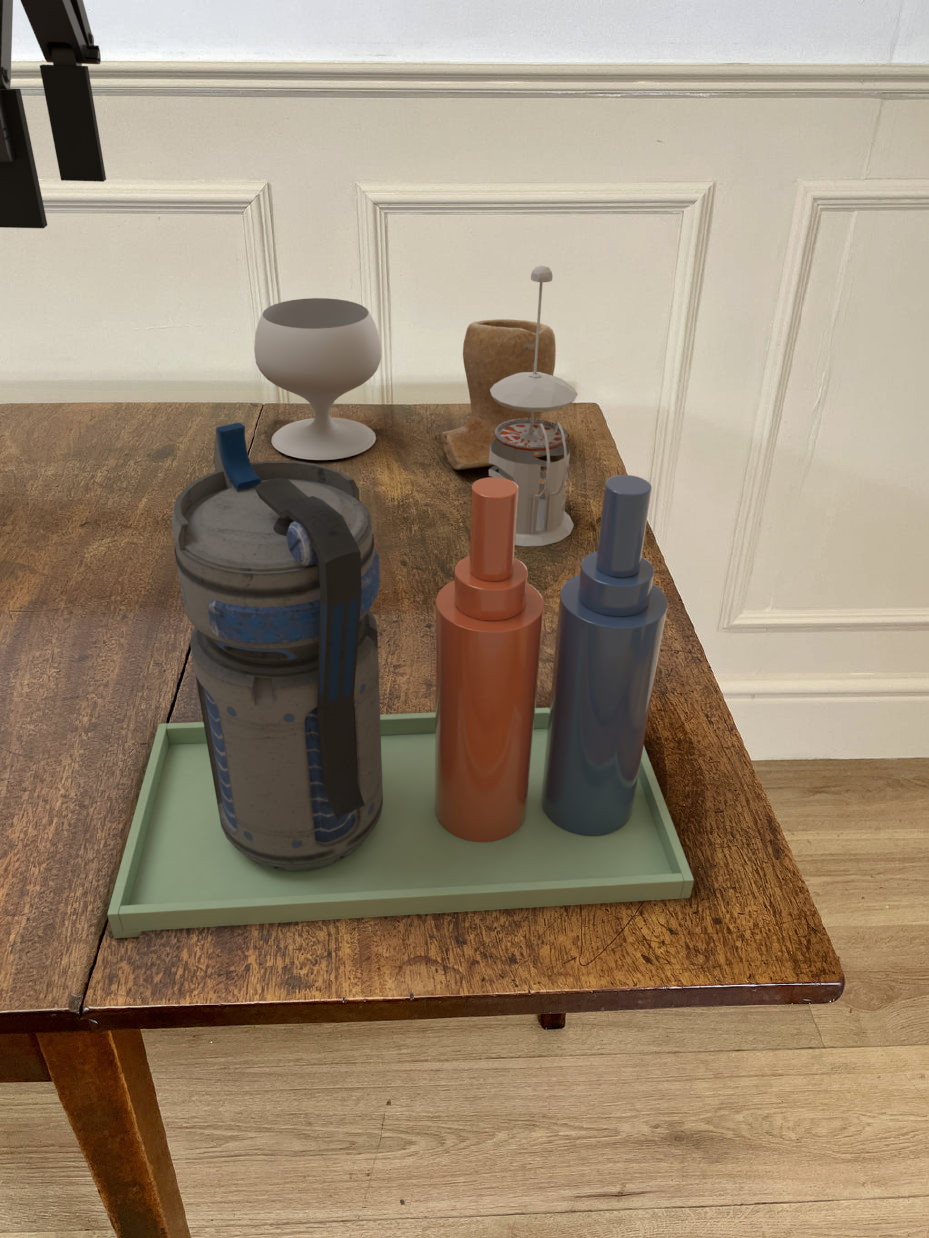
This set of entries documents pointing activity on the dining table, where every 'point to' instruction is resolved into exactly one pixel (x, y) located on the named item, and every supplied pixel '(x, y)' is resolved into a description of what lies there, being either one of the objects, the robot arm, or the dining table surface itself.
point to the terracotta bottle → (486, 676)
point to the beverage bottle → (284, 652)
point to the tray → (378, 849)
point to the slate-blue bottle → (604, 671)
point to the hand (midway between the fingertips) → (55, 201)
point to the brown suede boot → (486, 362)
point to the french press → (534, 447)
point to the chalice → (319, 370)
